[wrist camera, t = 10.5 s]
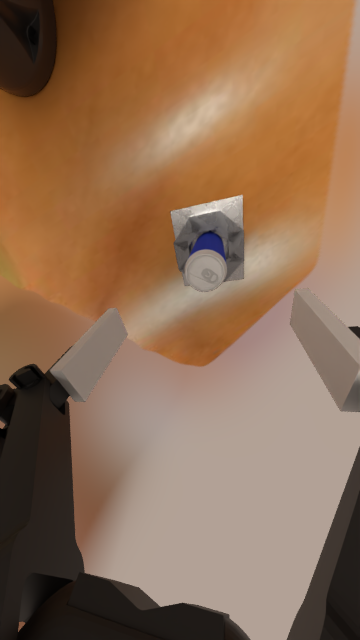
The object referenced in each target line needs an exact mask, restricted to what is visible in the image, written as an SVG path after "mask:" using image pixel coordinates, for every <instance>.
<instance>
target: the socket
mask: <svg viewBox="0 0 360 640" xmlns="http://www.w3.org/2000/svg"><path fill="white" fill-rule="evenodd" d="M170 213H171V218H172V223H173V228H174V234H175V239H176V240H175V242H174V248H175V253H176V258H177V263H178V268H179V270H180V271H181V272H182V275H183V280H184V285H185V286H190V284H189V283H188V281H187V279H186V276H185V265H186V262H187V260H188V258H189V256H190V253H191V251H192V249H193V247H194V245H195V243H196V241H197V239H198V237H199V236H200V235H202V234H203V233H206V232H214V233H216V234H218V235H219V236H220V237H221V239H222V241H223V245H224V252H225V258H226V265H227V274H226V277H225V279H224V281H223V282H225V281H231V280H239V279H244V262H243V261H244V230H243V195H240V196H236V197H231V198H227V199H222V200H218V201H213V202H209V203H205V204H200V205H196V206H191V207H187V208H183V209H178V210H174V211H170Z"/></svg>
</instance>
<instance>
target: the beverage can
mask: <svg viewBox="0 0 360 640" xmlns="http://www.w3.org/2000/svg"><path fill="white" fill-rule="evenodd" d="M226 274H227V265H226V258H225V252H224V245H223V241H222V239H221V237H220V236H219V235H218V234H216V233H214V232H206V233H203V234H202V235H200V236H199V237H198V239H197V241H196V243H195V245H194V247H193V249H192V251H191V253H190V256H189V258H188V260H187V262H186V265H185V276H186V279H187V281H188V283H189V284H190V286H191V287H193V288H194V289H196V290H198V291H202V292H208V291H212V290H214V289H216V288H217V287H218V286H220V285H221V284H222V282H223V281H224V279H225V277H226Z"/></svg>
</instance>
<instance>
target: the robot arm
mask: <svg viewBox="0 0 360 640" xmlns="http://www.w3.org/2000/svg"><path fill="white" fill-rule="evenodd" d="M55 53H56V22H55V14H54V7H53V2H52V0H0V88H1V89H3V90H5V91H7V92H9V93H11V94H14V95H17V96H30V95H33V94H35V93H37V92H38V91H40V90H41V89H42V88H43V87H44V85H45V84H46V83H47V81H48V79H49V77H50V75H51V72H52V69H53V65H54V60H55ZM290 325H291V327H292V328H293V330H294V332H295V334H296V335H297V337H298V339H299V341H300V342H301V344H302V346H303V347H304V349H305V351H306V353H307V354H308V356H309V358H310V360H311V361H312V363H313V365H314V367H315V368H316V370H317V372H318V373H319V375H320V377H321V379H322V380H323V382H324V384H325V385H326V387H327V389H328V390H329V392H330V394H331V396H332V398H333V399H334V401H335V403H336V404H337V406H338V408H339V409H340V411H348V412H349V411H350V412H360V327H358V326H356V327H347V326H346V325H345V324H344V323H343V322H342V321H341V320H340V319H339V318H338V317H337V316H336V315H335V314H334V313H333V312H332V311H331V310H330V309H329V308H328V307H327V306H326V305H325V304H324V303H323V302H322V301H321V300H320V299H319V298H318V297H317V296H316V295H315V294H314V293H313V292H312V291H311V290H310V289H309V288H305V289H295V293H294V299H293V306H292V313H291V320H290ZM127 335H128V333H127V331H126V328H125V326H124V324H123V322H122V319H121V317H120V315H119V312H118V310H117V308H110V309H108V310H107V311H106V312H105V313H104V314H103V315H102V316H101V317H100V318H99V319H98V320H97V321H96V322H95V323H94V324H93V325H92V327H91V328H90V329H89V330H88V331H87V332H86V333H85V334H84V335H83V336H82V337H81V338H80V339H79V340H78V341H77V342H76V343H75V344H74V345H73V346H71V347H70V348H69V349H68V350H67V351H66V352H65V354H63V355H62V356H61V358H60V359H58V361H57V362H56V363H55V364H54V365H53V366H52V367H51V368H50V369H49V370H48V371H47V372H46V373H45V374H44V373H43V372H42V371H41V370H40V369H39V368H38V366H37V365H35V364H30V365H27V366H24V367H22V368H21V369H19V370H18V371H16V372H15V373H14V374H13V375H12V376H11V377H10V378H9V380H10V382H12V383H13V384H14V385H15V386H16V387H17V388H16V389H12V388H11V387H10V386H9V385H7V384H3V385H0V420H1V421H2V422H3V423H5V424H6V425H5V426H4V428H3V429H1V428H0V640H250V638H249V637H248V636H247V635H246V633H245V632H244V631H243V630H242V629H241V628H240V627H239V626H238V625H237V624H236V623H234V622H233V621H232V620H231V619H229V614H226V613H223V612H219V611H215V610H212V609H209V608H206V607H202V606H199V605H194V604H187V603H179V604H175V605H169V606H164V607H160V606H159V605H158V604H157V603H156V602H154V601H153V600H152V599H151V598H150V597H149V596H148V595H147V594H145V593H144V592H143V591H142V590H141V589H140V588H139V587H135V586H132V585H129V584H125V583H122V582H118V581H115V580H111V579H107V578H103V577H98V576H94V575H90V574H86V573H84V564H83V559H82V555H81V552H80V550H79V548H78V546H77V543H76V540H75V523H74V501H73V480H72V458H71V437H70V416H69V403H68V401H67V398H68V397H69V396H71V397H72V399H73V400H74V401H76V402H85V401H86V400H87V398H88V397H89V395H90V393H91V392H92V390H93V389H94V387H95V386H96V384H97V382H98V381H99V379H100V378H101V376H102V375H103V373H104V371H105V370H106V368H107V367H108V365H109V363H110V362H111V360H112V358H113V357H114V356H115V354H116V352H117V351H118V349H119V348H120V346H121V345H122V343H123V341H124V340H125V338H126V337H127ZM22 621H23V622H25V625H24V626H23V627H22V628H21V629H20V631H19V632H18V626H19V622H22ZM287 640H360V447H359V450H358V453H357V456H356V459H355V461H354V464H353V467H352V470H351V472H350V475H349V478H348V481H347V483H346V486H345V489H344V492H343V494H342V497H341V500H340V503H339V505H338V508H337V511H336V514H335V517H334V519H333V522H332V525H331V528H330V531H329V533H328V536H327V539H326V541H325V544H324V547H323V550H322V553H321V555H320V558H319V561H318V564H317V567H316V569H315V572H314V575H313V577H312V580H311V583H310V586H309V589H308V591H307V594H306V596H305V599H304V601H303V604H302V605H301V607H300V609H299V611H298V613H297V615H296V618H295V620H294V622H293V625H292V627H291V630H290V632H289V635H288V638H287Z"/></svg>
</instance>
